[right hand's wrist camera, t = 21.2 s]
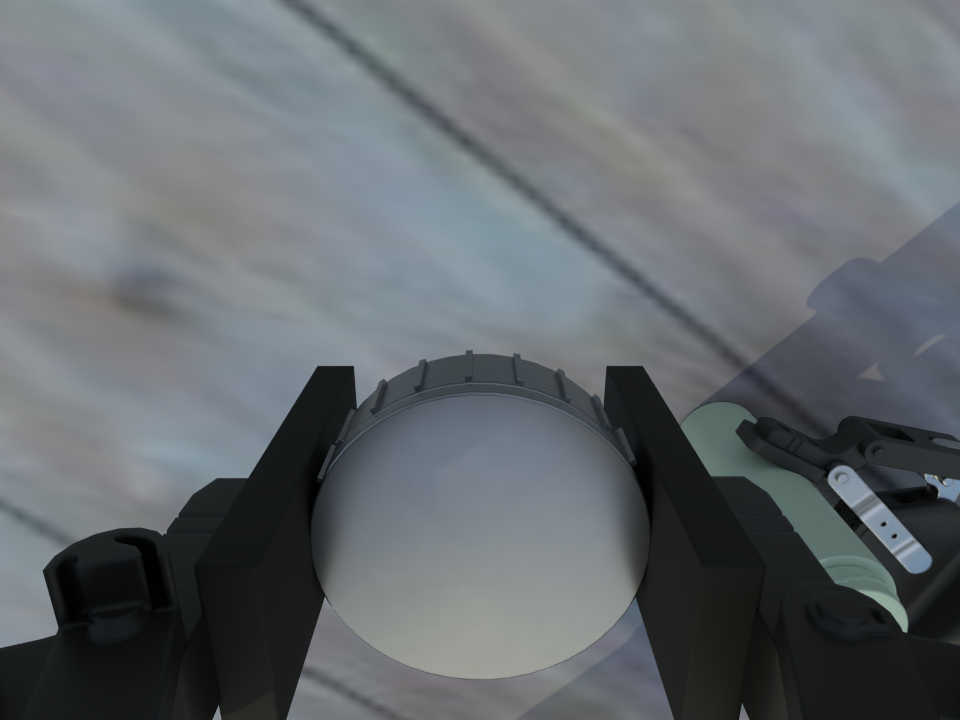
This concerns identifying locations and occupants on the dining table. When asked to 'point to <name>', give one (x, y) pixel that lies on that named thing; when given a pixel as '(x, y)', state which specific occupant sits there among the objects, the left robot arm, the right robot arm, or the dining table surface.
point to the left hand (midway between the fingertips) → (713, 478)
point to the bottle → (792, 503)
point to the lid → (480, 519)
